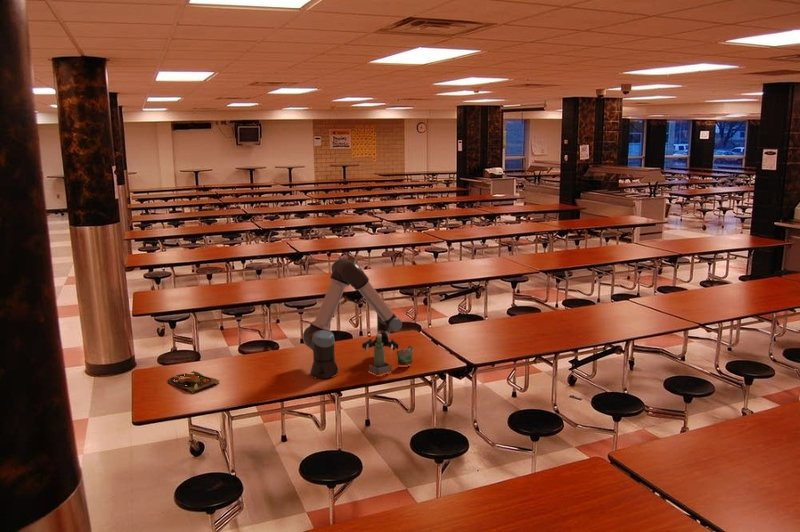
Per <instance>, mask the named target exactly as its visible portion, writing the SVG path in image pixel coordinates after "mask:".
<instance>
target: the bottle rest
mask: <svg viewBox="0 0 800 532" xmlns="http://www.w3.org/2000/svg"><path fill="white" fill-rule="evenodd" d="M392 369H393V368H392V364H390V363H388V362H386V361H384V366H383V367H380V368H377V367H375V366H374V365H372V364H369V365H368V370H369V371H370V372H372V373H374V374H376V375H380V374H383V373H387V372H390V371H392ZM392 372H393V371H392Z"/></svg>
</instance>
